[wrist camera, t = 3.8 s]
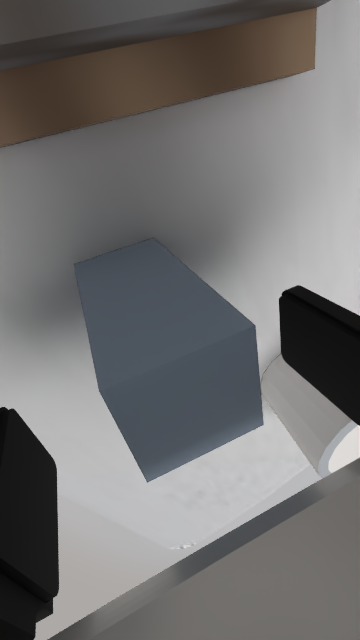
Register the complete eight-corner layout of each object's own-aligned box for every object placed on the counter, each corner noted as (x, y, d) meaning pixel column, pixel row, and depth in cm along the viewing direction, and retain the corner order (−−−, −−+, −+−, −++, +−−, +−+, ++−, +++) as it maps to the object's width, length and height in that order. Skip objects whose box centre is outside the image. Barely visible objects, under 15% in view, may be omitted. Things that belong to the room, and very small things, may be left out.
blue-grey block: (73, 264, 14) (99, 391, 7) (153, 237, 15) (255, 325, 7) (107, 340, 16) (152, 492, 9) (173, 314, 17) (264, 435, 10)
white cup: (276, 333, 21) (359, 401, 15) (339, 341, 24) (428, 399, 18) (240, 408, 24) (300, 490, 18) (301, 406, 27) (369, 475, 21)
